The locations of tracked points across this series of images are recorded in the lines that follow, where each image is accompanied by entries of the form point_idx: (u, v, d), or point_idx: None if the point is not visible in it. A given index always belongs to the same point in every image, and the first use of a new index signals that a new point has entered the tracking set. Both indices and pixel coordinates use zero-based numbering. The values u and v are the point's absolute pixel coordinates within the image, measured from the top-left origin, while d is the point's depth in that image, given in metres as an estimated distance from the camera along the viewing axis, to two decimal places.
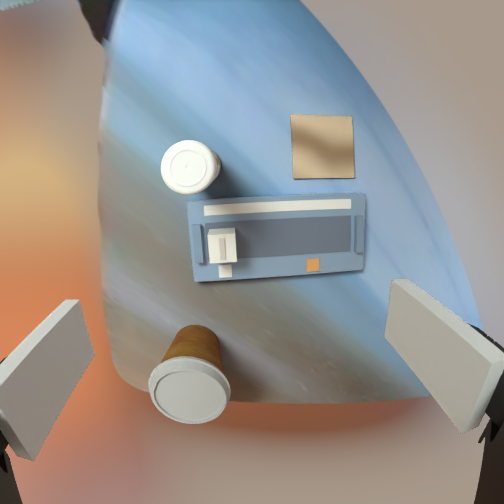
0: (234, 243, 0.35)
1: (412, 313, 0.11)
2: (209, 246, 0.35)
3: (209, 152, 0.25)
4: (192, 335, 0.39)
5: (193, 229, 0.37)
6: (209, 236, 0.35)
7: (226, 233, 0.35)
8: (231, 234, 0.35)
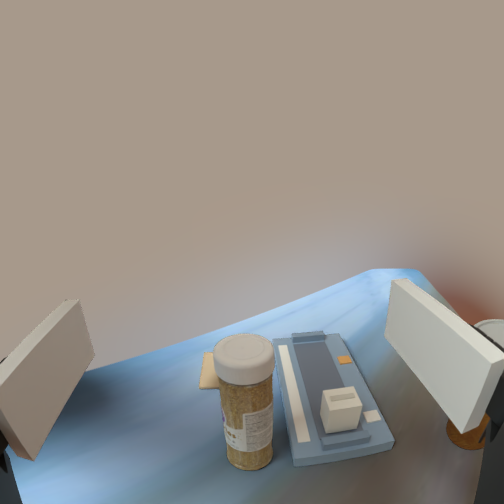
0: (333, 389, 0.28)
1: (412, 313, 0.11)
2: (342, 407, 0.26)
3: (229, 336, 0.24)
4: None
5: (328, 443, 0.25)
6: (330, 408, 0.26)
7: (324, 399, 0.28)
8: (324, 393, 0.28)
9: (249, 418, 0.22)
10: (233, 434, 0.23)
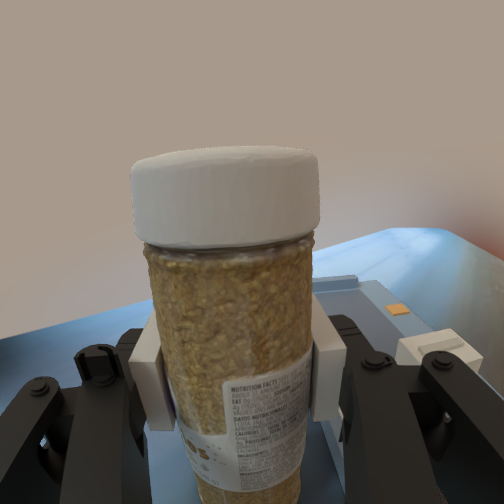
0: (419, 336, 0.13)
1: None
2: None
3: None
4: None
5: None
6: None
7: (406, 355, 0.13)
8: (403, 343, 0.13)
9: (245, 396, 0.07)
10: (201, 448, 0.08)
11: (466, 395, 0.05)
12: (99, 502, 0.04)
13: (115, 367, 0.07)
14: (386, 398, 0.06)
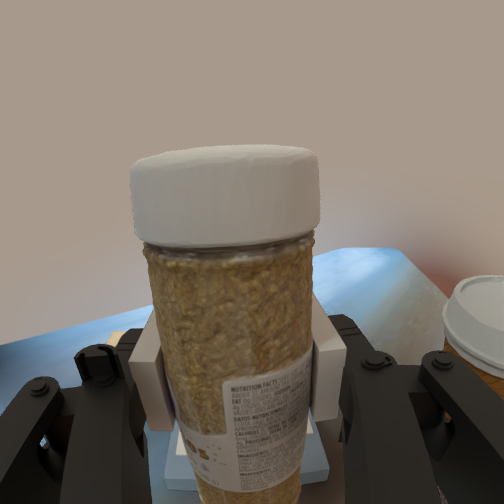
0: None
1: None
2: None
3: None
4: None
5: None
6: None
7: None
8: None
9: (245, 396, 0.07)
10: (201, 448, 0.08)
11: (466, 395, 0.05)
12: (99, 503, 0.04)
13: (115, 367, 0.07)
14: (386, 398, 0.06)
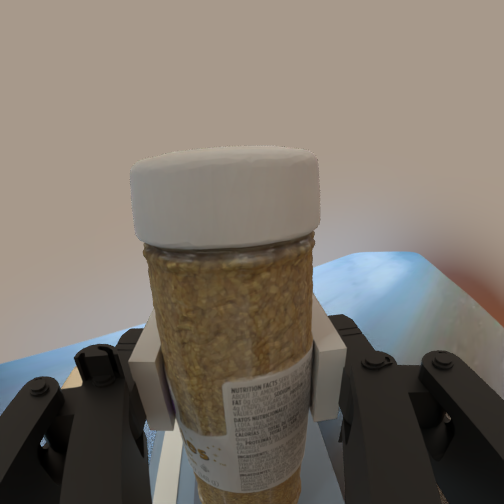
0: None
1: None
2: None
3: None
4: None
5: None
6: None
7: None
8: None
9: (246, 397, 0.07)
10: (201, 448, 0.08)
11: (466, 395, 0.05)
12: (100, 502, 0.04)
13: (115, 367, 0.07)
14: (386, 398, 0.06)
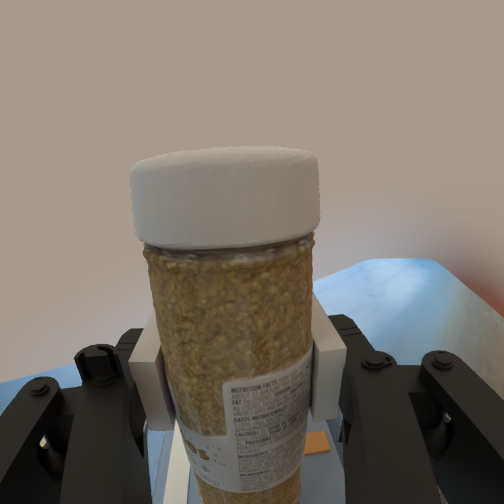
0: None
1: None
2: None
3: None
4: None
5: None
6: None
7: None
8: None
9: (246, 397, 0.07)
10: (201, 448, 0.08)
11: (466, 395, 0.05)
12: (99, 502, 0.04)
13: (115, 367, 0.07)
14: (386, 398, 0.06)
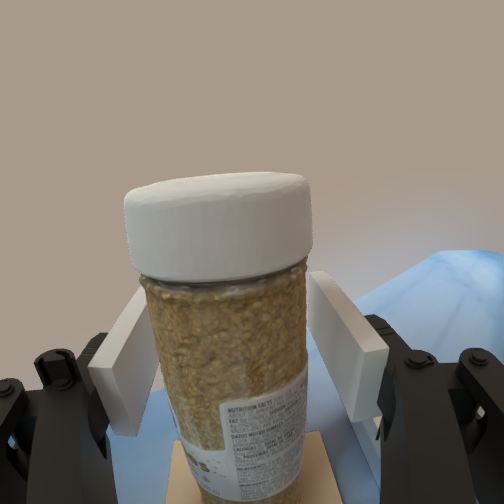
0: None
1: (320, 303, 0.12)
2: None
3: None
4: None
5: None
6: None
7: (481, 416, 0.09)
8: None
9: (242, 416, 0.07)
10: (202, 461, 0.08)
11: (499, 390, 0.05)
12: (62, 501, 0.03)
13: (73, 371, 0.07)
14: (428, 396, 0.06)
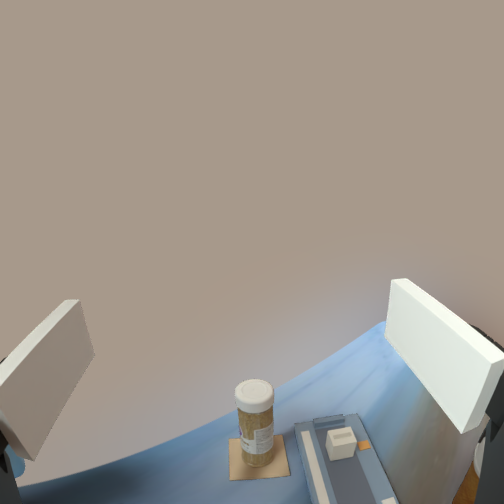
0: (335, 429, 0.36)
1: (412, 313, 0.11)
2: (342, 443, 0.34)
3: (244, 381, 0.36)
4: (462, 500, 0.21)
5: None
6: (334, 445, 0.34)
7: (329, 437, 0.36)
8: (329, 432, 0.36)
9: (258, 432, 0.34)
10: (247, 443, 0.35)
11: None
12: None
13: None
14: None
